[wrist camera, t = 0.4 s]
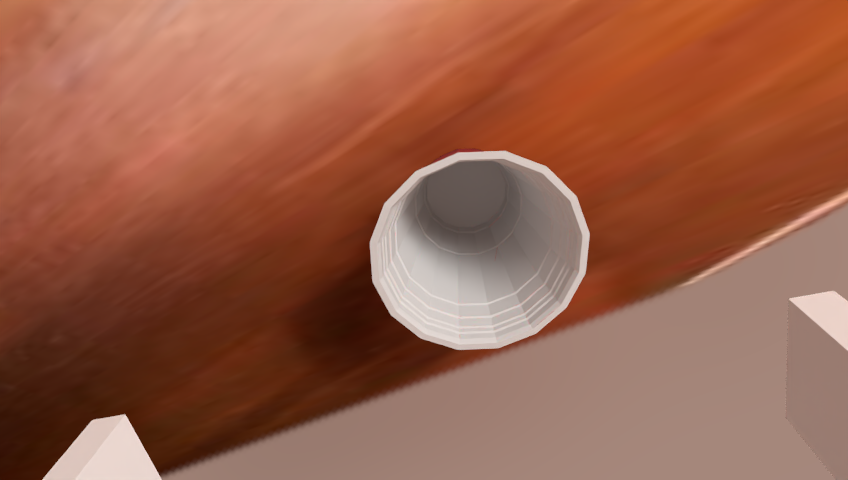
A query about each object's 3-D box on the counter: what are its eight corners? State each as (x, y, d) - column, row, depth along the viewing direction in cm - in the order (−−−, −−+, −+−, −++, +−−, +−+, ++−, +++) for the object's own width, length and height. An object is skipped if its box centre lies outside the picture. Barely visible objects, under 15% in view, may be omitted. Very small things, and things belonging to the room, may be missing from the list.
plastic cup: (488, 290, 41) (506, 391, 30) (360, 214, 39) (328, 291, 28) (581, 168, 37) (641, 230, 26) (445, 78, 35) (448, 103, 24)
